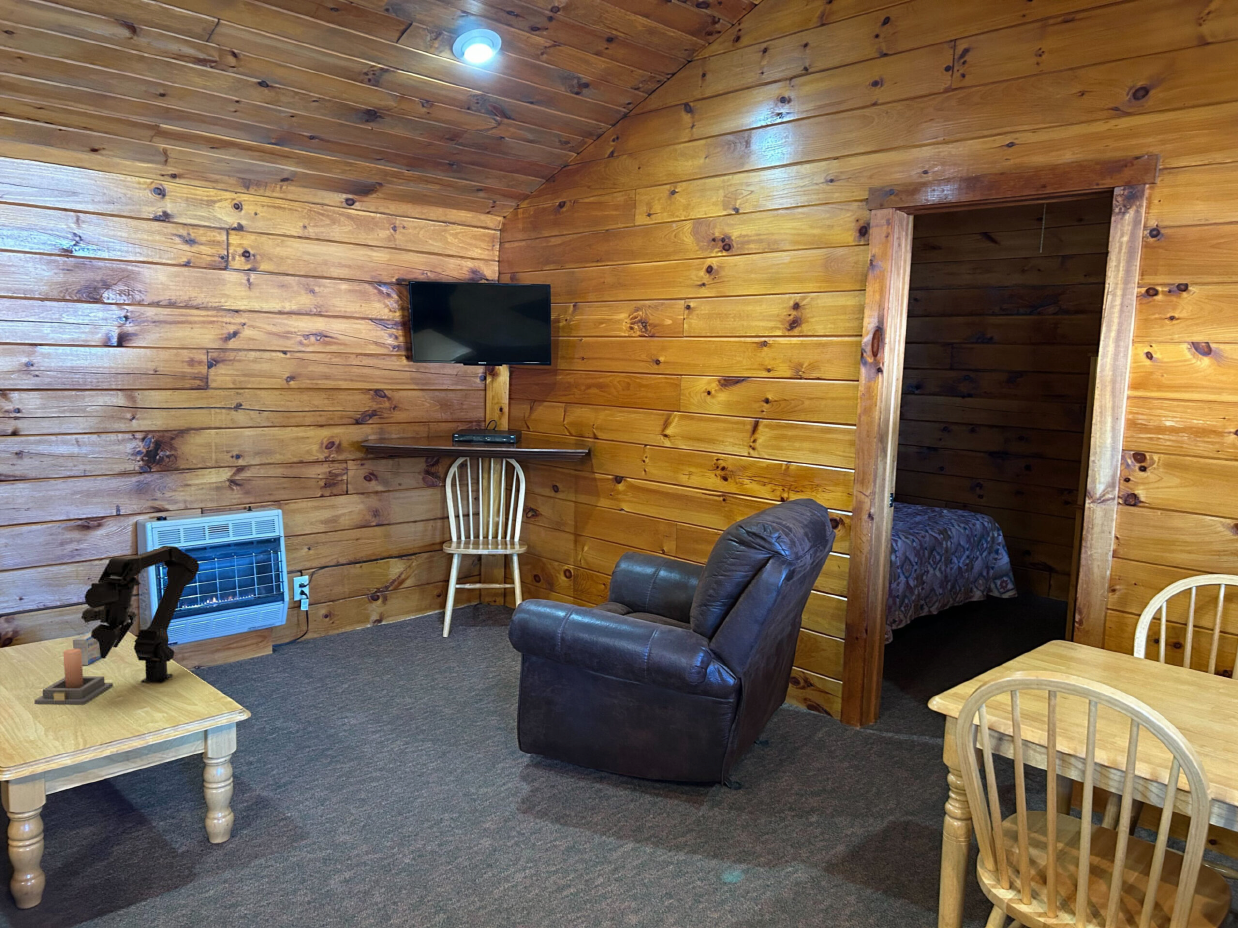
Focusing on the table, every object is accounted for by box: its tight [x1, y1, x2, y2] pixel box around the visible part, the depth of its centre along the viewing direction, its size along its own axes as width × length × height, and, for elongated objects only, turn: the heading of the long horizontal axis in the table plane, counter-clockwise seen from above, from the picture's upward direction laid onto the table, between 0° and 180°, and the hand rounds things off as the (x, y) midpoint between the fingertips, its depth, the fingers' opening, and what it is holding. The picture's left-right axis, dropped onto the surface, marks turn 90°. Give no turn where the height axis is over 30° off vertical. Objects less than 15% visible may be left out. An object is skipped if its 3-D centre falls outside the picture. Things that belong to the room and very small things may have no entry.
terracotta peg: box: [62, 648, 84, 688], centre depth 255 cm, size 4×4×12 cm
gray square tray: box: [33, 675, 114, 705], centre depth 256 cm, size 14×14×4 cm
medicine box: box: [72, 631, 102, 666], centre depth 284 cm, size 8×4×9 cm, turn 179°
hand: (108, 652), depth 256 cm, fingers open, 9 cm apart
